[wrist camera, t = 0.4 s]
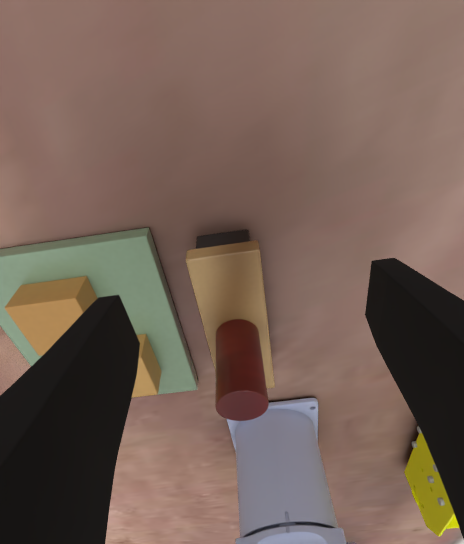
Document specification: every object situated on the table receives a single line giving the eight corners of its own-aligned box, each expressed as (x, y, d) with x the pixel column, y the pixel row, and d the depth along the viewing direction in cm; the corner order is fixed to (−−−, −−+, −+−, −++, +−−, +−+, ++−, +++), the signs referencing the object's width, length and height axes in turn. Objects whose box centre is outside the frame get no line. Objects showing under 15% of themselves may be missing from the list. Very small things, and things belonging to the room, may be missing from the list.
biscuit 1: (110, 324, 22) (102, 348, 21) (51, 332, 23) (38, 356, 21) (86, 275, 20) (75, 298, 18) (20, 284, 20) (3, 307, 19)
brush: (254, 222, 19) (272, 316, 13) (269, 356, 26) (286, 458, 20) (188, 232, 20) (176, 329, 14) (220, 362, 27) (222, 465, 20)
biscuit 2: (161, 370, 25) (158, 394, 24) (108, 377, 25) (101, 401, 24) (146, 333, 23) (141, 357, 21) (88, 340, 23) (78, 364, 22)
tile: (198, 379, 28) (197, 390, 27) (65, 395, 28) (61, 406, 27) (149, 226, 19) (146, 236, 19) (-38, 253, 20) (-48, 263, 19)
